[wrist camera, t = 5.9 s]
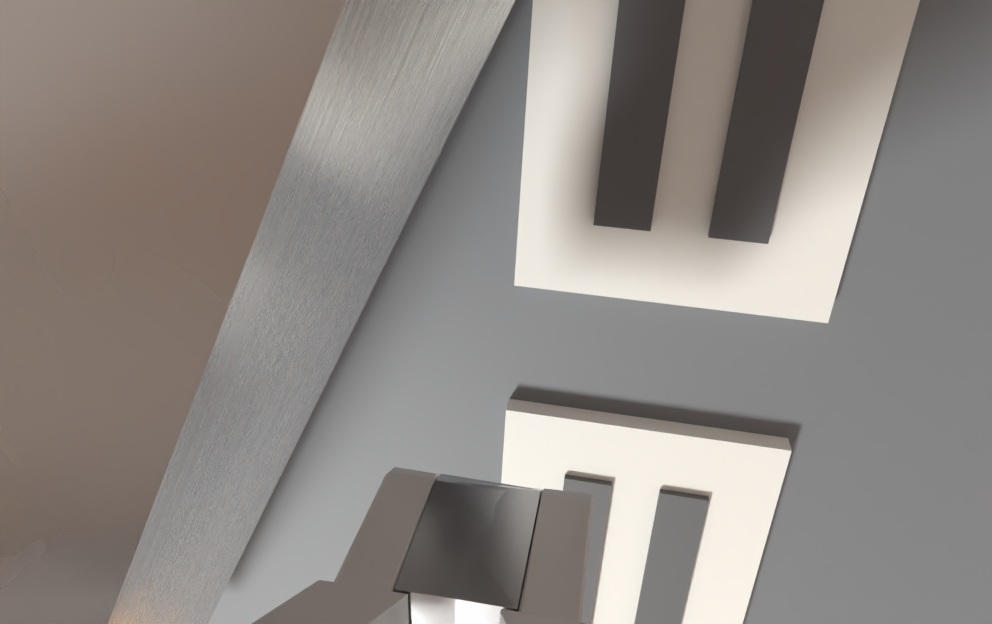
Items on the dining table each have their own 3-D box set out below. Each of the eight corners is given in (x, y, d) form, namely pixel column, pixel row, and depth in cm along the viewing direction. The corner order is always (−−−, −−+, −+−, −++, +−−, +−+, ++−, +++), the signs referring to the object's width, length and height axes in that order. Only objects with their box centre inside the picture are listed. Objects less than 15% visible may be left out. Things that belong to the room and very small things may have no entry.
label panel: (-121, -535, 9) (-272, -626, 7) (1537, -585, 6) (1784, -728, 5) (150, 632, 17) (107, 694, 16) (890, 776, 15) (914, 862, 14)
